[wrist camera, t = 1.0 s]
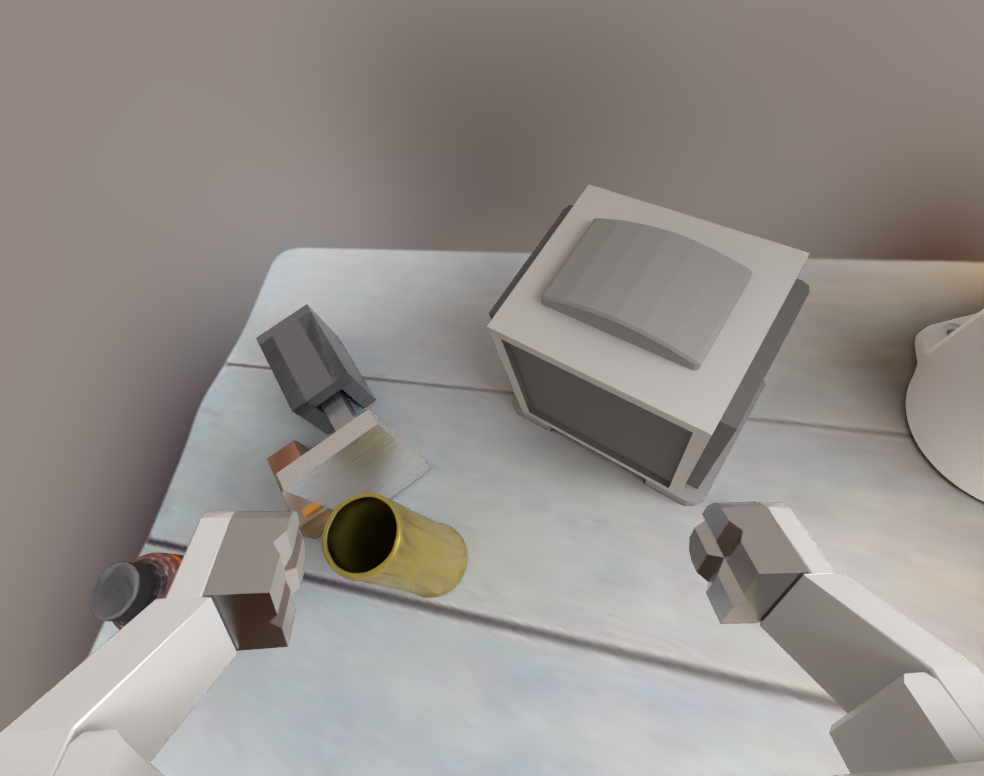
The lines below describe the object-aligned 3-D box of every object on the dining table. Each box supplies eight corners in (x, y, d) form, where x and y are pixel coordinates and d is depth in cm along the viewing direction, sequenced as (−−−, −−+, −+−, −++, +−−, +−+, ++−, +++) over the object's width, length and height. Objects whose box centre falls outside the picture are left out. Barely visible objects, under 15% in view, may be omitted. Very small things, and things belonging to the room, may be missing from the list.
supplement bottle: (179, 616, 46) (59, 614, 36) (214, 552, 48) (110, 534, 38) (227, 643, 44) (113, 650, 34) (261, 576, 46) (164, 564, 36)
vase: (389, 549, 44) (301, 521, 32) (446, 509, 45) (381, 466, 32) (420, 612, 42) (337, 609, 29) (481, 569, 42) (425, 547, 29)
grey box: (764, 382, 44) (855, 241, 27) (696, 512, 40) (754, 439, 24) (579, 305, 51) (565, 156, 35) (509, 409, 48) (458, 300, 31)
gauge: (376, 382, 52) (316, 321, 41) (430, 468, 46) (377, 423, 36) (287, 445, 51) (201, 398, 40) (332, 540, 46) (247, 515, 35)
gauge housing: (337, 336, 56) (306, 304, 50) (376, 399, 51) (347, 372, 46) (292, 366, 55) (256, 338, 50) (327, 434, 51) (292, 410, 45)
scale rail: (305, 446, 51) (292, 438, 49) (341, 519, 47) (328, 514, 44) (280, 464, 50) (266, 457, 48) (314, 539, 46) (300, 535, 44)
